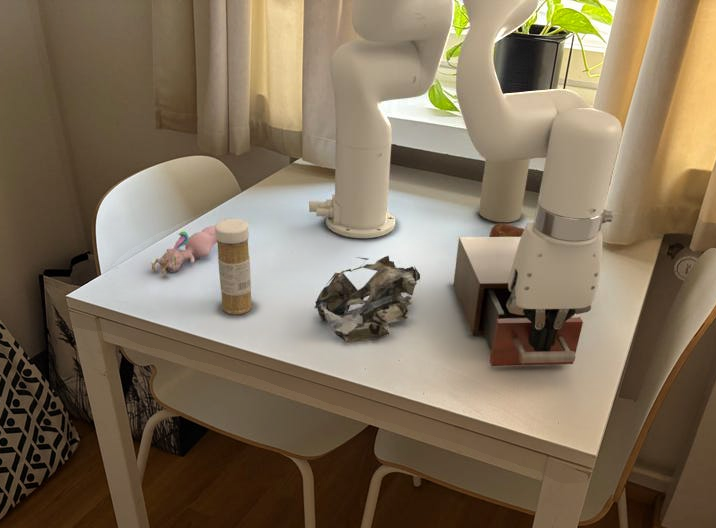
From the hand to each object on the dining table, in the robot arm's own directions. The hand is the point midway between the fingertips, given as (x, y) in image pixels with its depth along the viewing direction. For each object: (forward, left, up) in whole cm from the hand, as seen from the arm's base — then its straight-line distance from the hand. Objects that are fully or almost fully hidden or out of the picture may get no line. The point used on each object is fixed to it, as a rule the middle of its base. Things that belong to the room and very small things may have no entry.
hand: (539, 349), depth 100 cm
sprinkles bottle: (-40, +19, -5) cm, 45 cm away
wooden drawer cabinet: (0, +18, -5) cm, 18 cm away
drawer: (0, +6, -4) cm, 7 cm away
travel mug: (+8, +52, -5) cm, 53 cm away
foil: (-21, +15, -5) cm, 26 cm away
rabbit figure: (-47, +35, -5) cm, 59 cm away
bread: (+9, +33, -5) cm, 35 cm away
